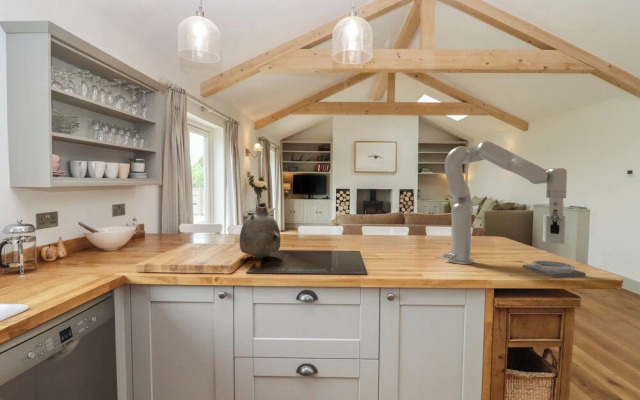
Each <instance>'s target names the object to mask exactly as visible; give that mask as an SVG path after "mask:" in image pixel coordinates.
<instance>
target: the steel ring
mask: <svg viewBox="0 0 640 400" xmlns="http://www.w3.org/2000/svg"><path fill="white" fill-rule="evenodd" d="M531 264H532V267H534V268H536V269H539V270H543V271H547V272H555V273H573V272H575V270H576V267H575V265H573V264H570V263H567V262H562V261H555V260H545V259H543V260H542V259H541V260H537V259H536V260H533V261H532V262H531ZM542 265H551V266H559V267H564V268H554V267H547V266H542Z"/></svg>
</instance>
